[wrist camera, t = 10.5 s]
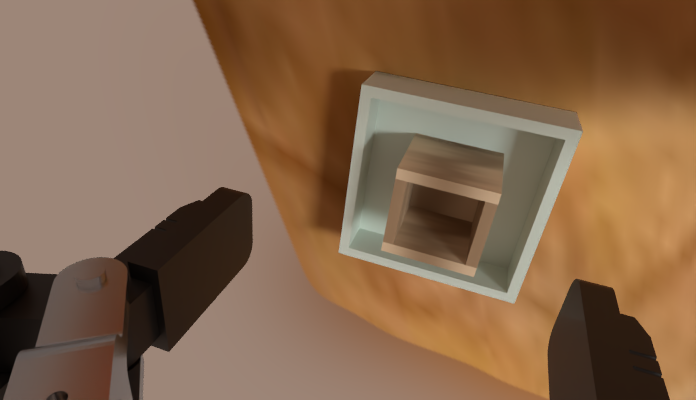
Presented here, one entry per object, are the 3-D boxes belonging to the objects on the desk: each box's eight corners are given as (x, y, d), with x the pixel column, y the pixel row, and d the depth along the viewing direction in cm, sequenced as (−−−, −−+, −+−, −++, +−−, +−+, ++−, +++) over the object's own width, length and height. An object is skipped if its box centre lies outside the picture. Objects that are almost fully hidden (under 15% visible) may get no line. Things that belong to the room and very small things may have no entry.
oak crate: (504, 153, 32) (501, 194, 27) (480, 227, 35) (473, 276, 30) (415, 132, 33) (397, 168, 28) (400, 206, 36) (380, 250, 31)
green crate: (576, 112, 30) (583, 131, 27) (514, 274, 36) (514, 303, 33) (375, 71, 32) (361, 84, 29) (352, 228, 39) (338, 252, 36)
